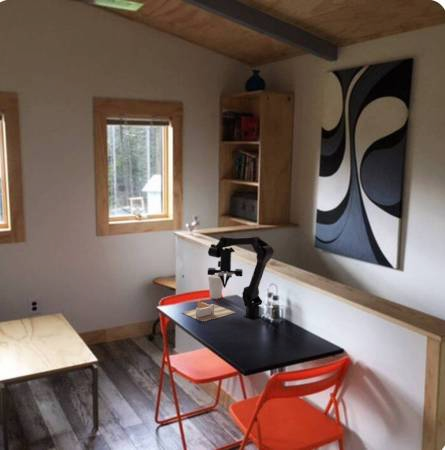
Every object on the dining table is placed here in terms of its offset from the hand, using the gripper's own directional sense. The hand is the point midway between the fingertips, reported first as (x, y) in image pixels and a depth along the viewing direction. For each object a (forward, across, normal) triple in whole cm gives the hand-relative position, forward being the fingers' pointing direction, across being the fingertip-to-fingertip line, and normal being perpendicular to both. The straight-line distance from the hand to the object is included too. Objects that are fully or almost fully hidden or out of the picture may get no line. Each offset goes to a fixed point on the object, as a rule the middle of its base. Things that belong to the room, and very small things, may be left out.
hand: (224, 287), depth 285 cm
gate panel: (+11, +10, +7) cm, 17 cm away
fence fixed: (+12, +9, +15) cm, 21 cm away
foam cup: (+12, +6, -21) cm, 25 cm away
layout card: (+12, +7, +9) cm, 17 cm away
